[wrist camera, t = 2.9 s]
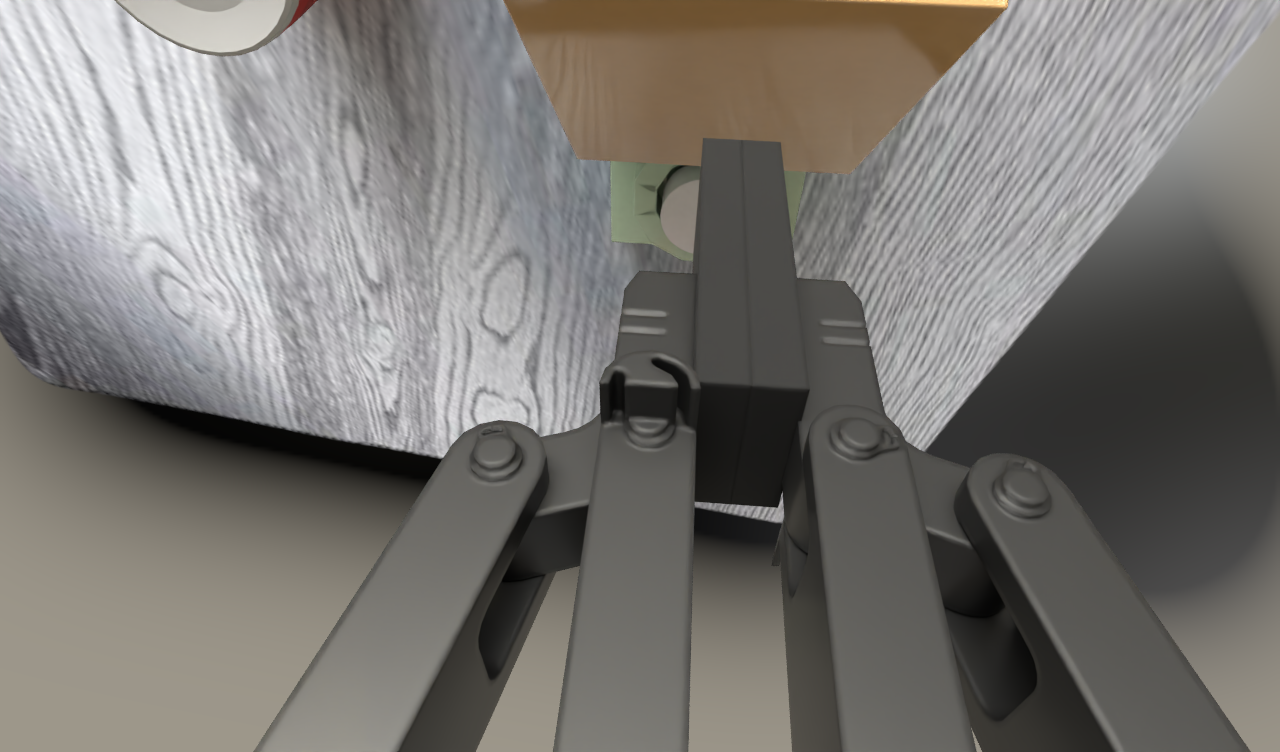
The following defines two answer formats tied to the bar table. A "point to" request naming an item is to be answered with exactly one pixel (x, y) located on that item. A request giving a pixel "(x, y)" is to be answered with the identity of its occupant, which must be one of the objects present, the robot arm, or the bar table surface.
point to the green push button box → (642, 200)
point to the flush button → (681, 207)
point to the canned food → (217, 22)
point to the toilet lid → (742, 72)
